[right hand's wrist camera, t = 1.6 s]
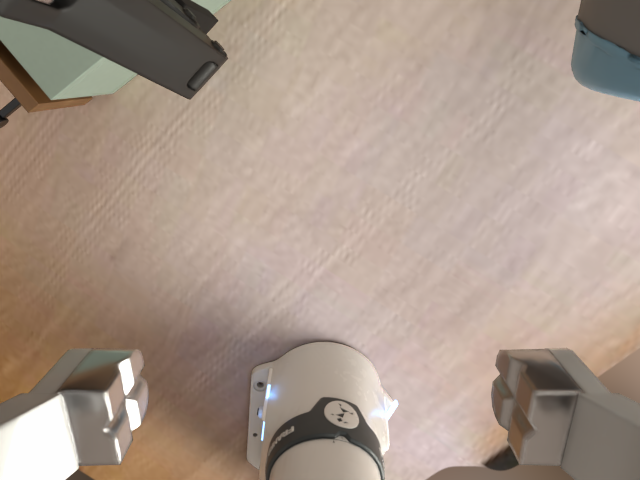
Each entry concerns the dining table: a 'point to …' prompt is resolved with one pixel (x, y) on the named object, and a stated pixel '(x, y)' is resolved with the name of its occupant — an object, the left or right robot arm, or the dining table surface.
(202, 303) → the dining table surface
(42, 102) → the drawer
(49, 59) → the cabinet
